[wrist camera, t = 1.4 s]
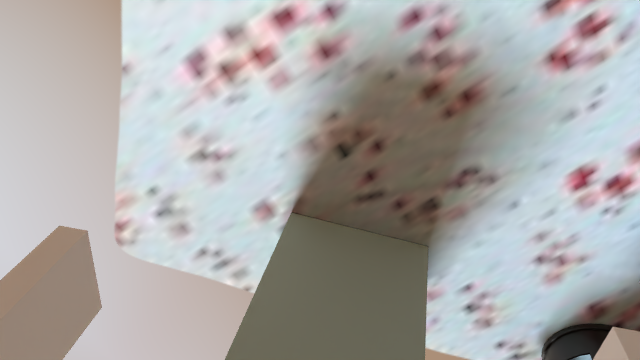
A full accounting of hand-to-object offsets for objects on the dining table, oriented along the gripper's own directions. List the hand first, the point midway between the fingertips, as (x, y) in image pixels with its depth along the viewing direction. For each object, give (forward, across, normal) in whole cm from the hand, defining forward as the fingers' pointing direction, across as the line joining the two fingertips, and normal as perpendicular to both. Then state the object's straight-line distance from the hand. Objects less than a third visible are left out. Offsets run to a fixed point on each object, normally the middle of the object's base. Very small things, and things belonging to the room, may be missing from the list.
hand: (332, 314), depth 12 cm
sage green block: (+30, +1, -23) cm, 38 cm away
